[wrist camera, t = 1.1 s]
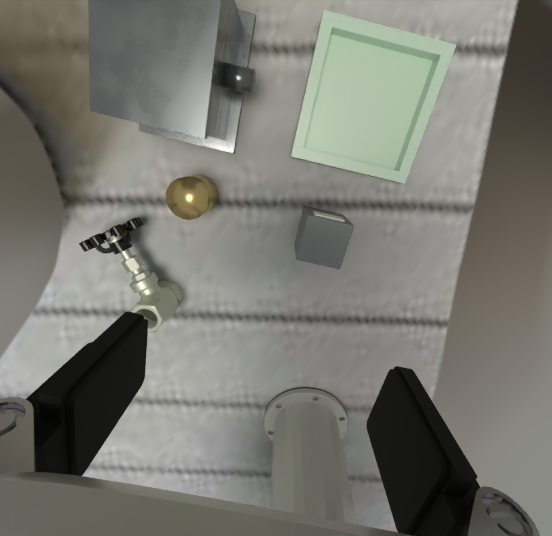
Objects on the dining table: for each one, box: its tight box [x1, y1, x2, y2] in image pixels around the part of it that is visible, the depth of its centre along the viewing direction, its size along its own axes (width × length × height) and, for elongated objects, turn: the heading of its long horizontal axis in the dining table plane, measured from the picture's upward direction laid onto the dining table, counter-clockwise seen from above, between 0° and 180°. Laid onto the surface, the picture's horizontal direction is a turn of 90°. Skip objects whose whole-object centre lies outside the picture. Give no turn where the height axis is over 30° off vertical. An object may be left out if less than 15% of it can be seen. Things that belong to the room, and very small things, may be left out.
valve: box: [79, 217, 184, 332], centre depth 33 cm, size 7×7×12 cm
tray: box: [291, 10, 456, 184], centre depth 28 cm, size 12×12×2 cm
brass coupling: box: [166, 175, 219, 220], centre depth 30 cm, size 4×4×5 cm
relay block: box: [295, 206, 354, 269], centre depth 31 cm, size 5×4×6 cm
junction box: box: [88, 0, 256, 153], centre depth 24 cm, size 12×11×10 cm
